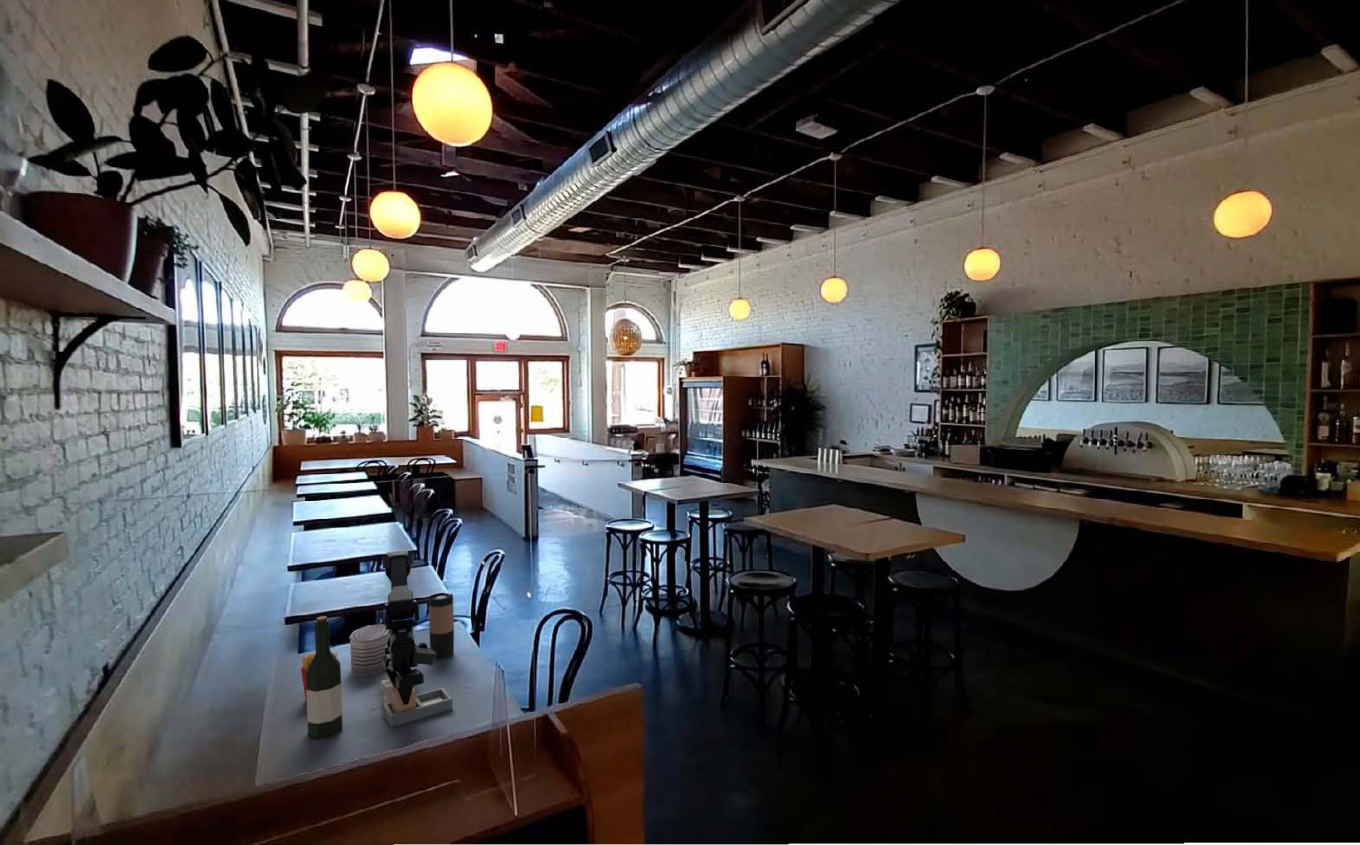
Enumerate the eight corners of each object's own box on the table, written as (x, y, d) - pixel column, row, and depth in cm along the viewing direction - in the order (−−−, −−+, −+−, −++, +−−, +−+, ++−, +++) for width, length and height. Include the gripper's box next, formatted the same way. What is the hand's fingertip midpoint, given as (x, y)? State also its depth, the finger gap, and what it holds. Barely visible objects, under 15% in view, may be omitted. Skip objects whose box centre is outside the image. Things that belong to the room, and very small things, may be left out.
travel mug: (431, 661, 210) (430, 601, 209) (428, 653, 217) (427, 594, 216) (456, 657, 214) (454, 597, 212) (452, 649, 220) (451, 591, 219)
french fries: (300, 703, 183) (298, 658, 182) (306, 696, 187) (305, 652, 186) (335, 700, 184) (333, 656, 183) (340, 693, 188) (339, 650, 188)
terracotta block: (391, 710, 176) (391, 688, 176) (410, 704, 179) (410, 683, 179) (396, 717, 172) (396, 695, 172) (416, 712, 175) (415, 690, 175)
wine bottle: (316, 723, 172) (312, 612, 170) (349, 722, 173) (345, 611, 171) (300, 740, 164) (296, 624, 162) (335, 739, 164) (331, 623, 163)
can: (398, 665, 207) (397, 628, 207) (364, 679, 198) (363, 640, 197) (377, 657, 213) (376, 621, 213) (343, 670, 204) (342, 633, 203)
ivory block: (382, 701, 184) (381, 681, 184) (400, 696, 187) (400, 676, 187) (386, 708, 180) (385, 687, 180) (405, 703, 183) (404, 682, 183)
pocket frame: (383, 714, 176) (383, 704, 176) (443, 697, 186) (442, 687, 186) (391, 727, 170) (390, 716, 170) (452, 709, 179) (452, 698, 179)
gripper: (443, 647, 172) (444, 704, 173) (422, 626, 187) (424, 679, 188) (398, 658, 165) (400, 717, 166) (381, 635, 180) (382, 690, 181)
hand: (403, 700), depth 175 cm, fingers open, 6 cm apart
